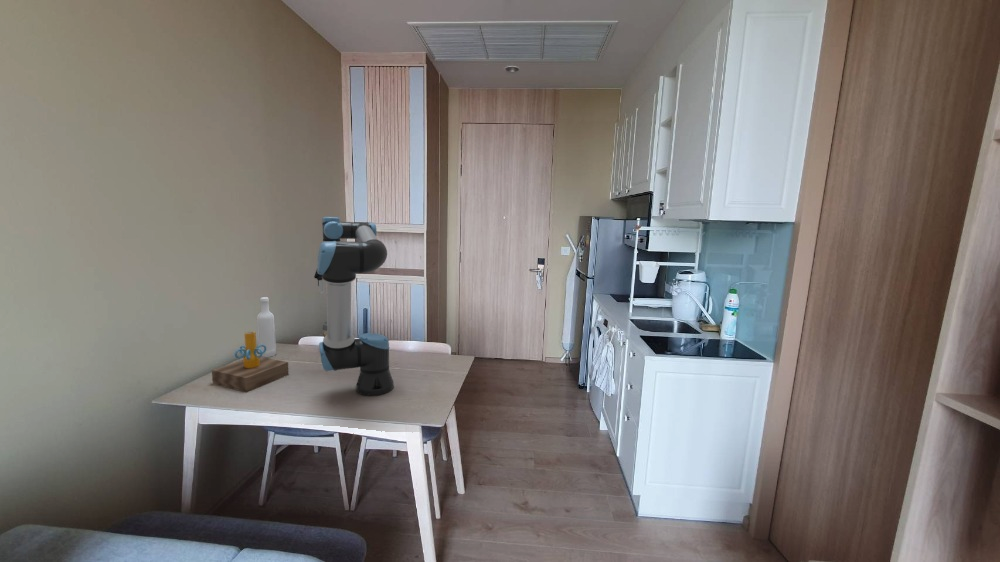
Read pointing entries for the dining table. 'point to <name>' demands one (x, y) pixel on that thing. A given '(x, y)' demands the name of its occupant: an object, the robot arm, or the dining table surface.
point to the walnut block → (249, 374)
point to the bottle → (266, 329)
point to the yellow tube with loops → (250, 351)
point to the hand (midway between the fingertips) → (333, 294)
